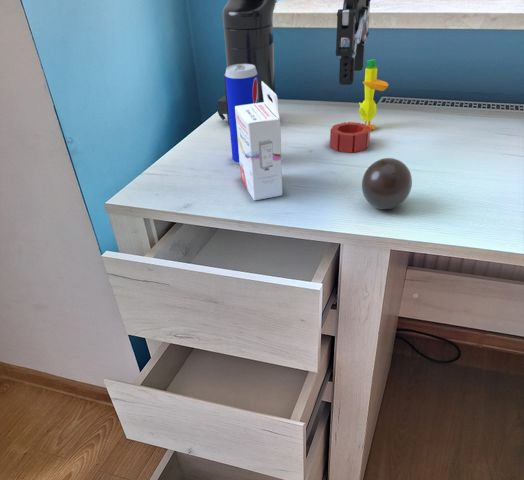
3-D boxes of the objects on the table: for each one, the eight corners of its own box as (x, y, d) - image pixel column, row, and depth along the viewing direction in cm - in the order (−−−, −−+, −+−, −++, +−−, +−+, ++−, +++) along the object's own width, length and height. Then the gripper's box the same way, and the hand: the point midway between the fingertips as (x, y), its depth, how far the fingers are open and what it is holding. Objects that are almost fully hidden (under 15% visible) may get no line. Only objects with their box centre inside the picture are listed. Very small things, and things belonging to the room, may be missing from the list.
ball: (355, 215, 75) (359, 167, 70) (364, 194, 80) (368, 148, 75) (405, 220, 73) (412, 172, 68) (411, 199, 78) (418, 152, 73)
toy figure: (388, 131, 99) (396, 61, 92) (375, 136, 98) (382, 65, 90) (363, 123, 104) (368, 55, 96) (350, 127, 102) (354, 59, 94)
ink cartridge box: (239, 180, 86) (231, 83, 76) (267, 175, 87) (263, 79, 77) (253, 201, 80) (246, 99, 70) (283, 196, 80) (281, 94, 71)
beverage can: (262, 165, 90) (258, 70, 80) (233, 167, 90) (224, 72, 80) (260, 154, 94) (256, 62, 84) (232, 156, 94) (224, 64, 84)
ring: (326, 150, 94) (327, 133, 92) (335, 137, 98) (336, 121, 96) (364, 153, 92) (365, 136, 90) (371, 140, 97) (372, 123, 95)
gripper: (341, -50, 81) (338, 66, 92) (320, -40, 71) (319, 88, 82) (390, -52, 79) (381, 66, 90) (375, -42, 69) (366, 89, 80)
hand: (351, 76), depth 86 cm, fingers open, 8 cm apart
